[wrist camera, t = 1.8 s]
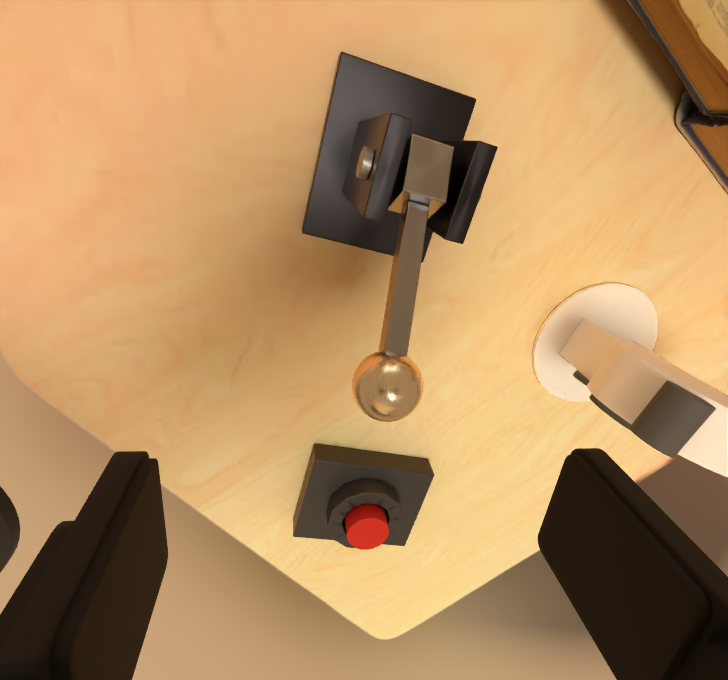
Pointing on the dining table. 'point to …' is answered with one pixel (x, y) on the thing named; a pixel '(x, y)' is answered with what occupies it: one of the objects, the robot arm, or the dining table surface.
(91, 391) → the dining table surface
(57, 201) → the dining table surface
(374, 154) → the switch bracket
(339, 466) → the push button box
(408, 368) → the lever
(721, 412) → the panda figurine
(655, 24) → the book
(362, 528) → the stop button
